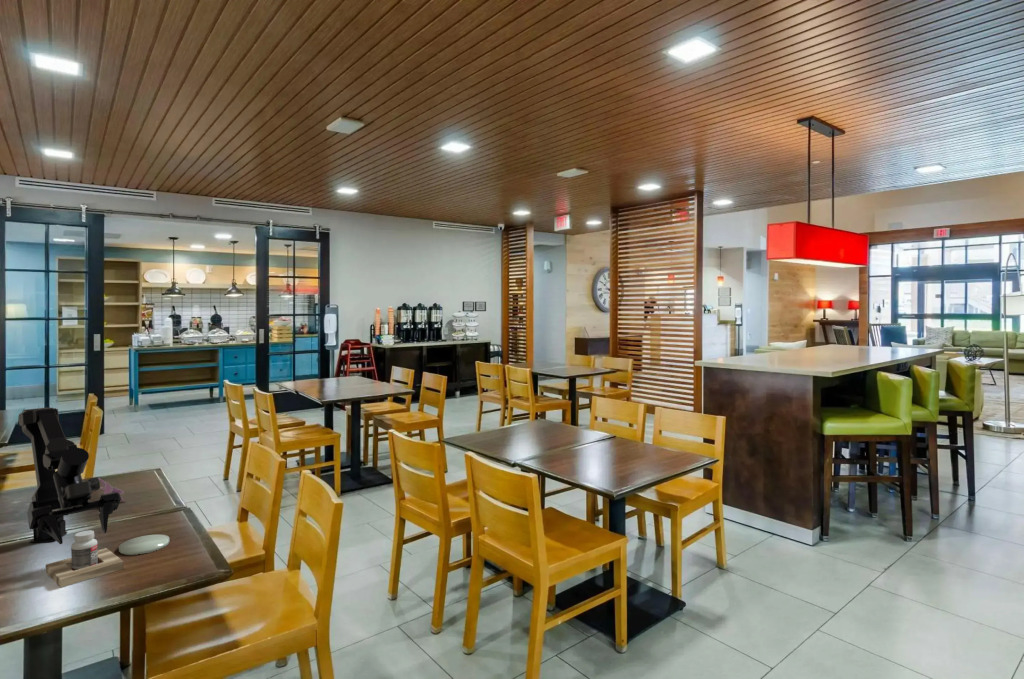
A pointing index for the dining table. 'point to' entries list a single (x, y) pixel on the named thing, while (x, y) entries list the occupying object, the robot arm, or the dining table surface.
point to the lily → (110, 488)
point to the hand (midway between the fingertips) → (83, 537)
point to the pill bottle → (84, 550)
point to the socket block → (83, 569)
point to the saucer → (143, 544)
